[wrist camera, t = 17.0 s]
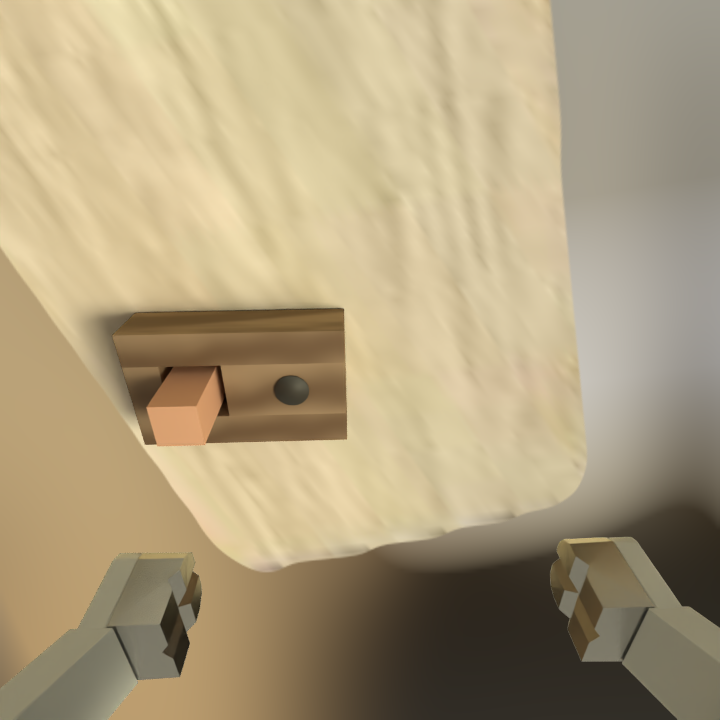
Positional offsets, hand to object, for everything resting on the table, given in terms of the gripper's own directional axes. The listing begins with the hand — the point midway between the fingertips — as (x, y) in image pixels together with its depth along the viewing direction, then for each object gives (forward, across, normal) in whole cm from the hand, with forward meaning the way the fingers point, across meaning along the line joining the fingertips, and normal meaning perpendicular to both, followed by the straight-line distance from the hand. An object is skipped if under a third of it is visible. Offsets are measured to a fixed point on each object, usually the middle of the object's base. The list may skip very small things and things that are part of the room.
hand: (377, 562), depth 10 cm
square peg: (+34, +15, +14) cm, 40 cm away
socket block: (+34, +11, +14) cm, 38 cm away
